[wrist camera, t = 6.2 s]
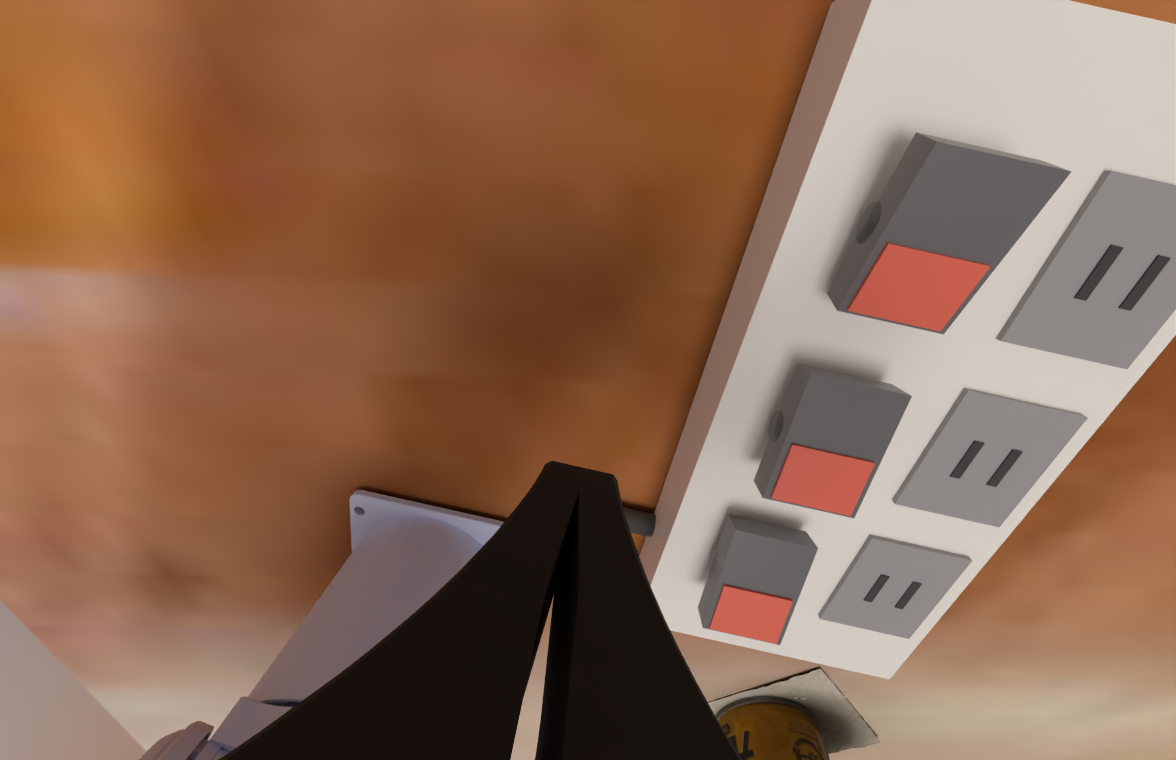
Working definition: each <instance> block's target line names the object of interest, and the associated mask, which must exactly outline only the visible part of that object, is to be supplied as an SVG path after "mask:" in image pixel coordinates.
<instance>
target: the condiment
mask: <svg viewBox="0 0 1176 760" xmlns="http://www.w3.org/2000/svg"><path fill="white" fill-rule="evenodd" d="M793 697H798V699H793ZM800 698H806V699H807V700H802V699H800ZM708 704H709V706H710V708H711V709H712V711H713V713H714V715H715V716H716V718H717V720H718V722H719V724H720V725H721V727H722V729H723V730H724V732H725V734H726V735H727V737H728V738H729V740H730V742H731V743H732V745H733V746H734V748H735V750H736V751H737V753H738V754H739V756H740V758H741V759H742V760H830V759H829V756H828V754H830V753H835V752H839V751H841V750H845V749H850V748H861V747H866V746H868V745H872V744H876V743H880V741H879V740H878V738H877V737H876V736H875V735H874V734H873V732H872V730H871V729H870V728H869V727H868V725H867V724H866V723H865V721H864V720H863V719H862V718H861V717H860V715H859V714H858V713H857V711H856V710H855V709H854V708H853V707H852V705H851V704H850V703H849V702H848V701H847V699H846V698H845V696H843V695H842V694H841V692H840V691H839V690H838V689H837V688H836V686H835V685H834V684H833V682H832V681H831V680H830V679H829V678H828V677H827V676H826V675H825V673H824V672H823V671H822V670H821V669H818V670H815V671H811V672H810V673H808V674H804V675H800V676H795V677H792V678H790V679H789V680H787V681H782V682H778V683H774V684H771V685H770V686H767V687H761V688H759V689H754V690H748V691H745V692H741V693H737V694H735V695H732V696H729V697H726V698H722V699H720V700H716V701H712V702H709V703H708Z"/></svg>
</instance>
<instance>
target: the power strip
mask: <svg viewBox="0 0 1176 760" xmlns="http://www.w3.org/2000/svg"><path fill="white" fill-rule="evenodd" d="M916 132H917V133H922V134H926V135H930V136H935V137H939V138H944V139H948V140H953V141H957V142H962V143H966V144H971V145H975V146H980V147H984V148H989V149H993V150H998V151H1002V152H1007V153H1011V154H1016V155H1020V156H1025V157H1029V158H1034V159H1038V160H1042V161H1044V162H1047V163H1050V164H1053V165H1055V166H1058V167H1061V168H1063V169H1066V170H1069V171H1072V172H1071V173H1070V174H1069V176H1068V177H1067V178H1066V179H1065V181H1064V182H1063V183H1062V185H1061V186H1060V187H1059V188H1058V190H1057V191H1056V192H1055V193H1054V195H1053V196H1052V197H1051V199H1050V200H1049V201H1048V202H1047V204H1046V205H1045V206H1044V207H1043V209H1042V210H1041V211H1040V213H1039V214H1038V215H1037V216H1036V218H1035V219H1034V220H1033V221H1032V223H1031V224H1030V225H1029V226H1028V228H1027V229H1026V230H1025V232H1024V233H1023V234H1022V235H1021V237H1020V238H1019V239H1018V240H1017V242H1016V243H1015V244H1014V246H1013V247H1012V248H1011V249H1010V251H1009V252H1008V253H1007V254H1006V256H1005V257H1004V258H1003V260H1002V261H1001V262H1000V263H999V265H998V266H997V267H996V268H995V270H994V271H993V272H992V274H991V275H990V276H989V277H988V279H987V280H986V281H985V282H984V284H983V285H982V286H981V288H980V289H979V290H978V291H977V293H976V294H975V295H974V296H973V298H972V299H971V300H970V302H969V303H968V304H967V305H966V307H965V308H964V309H963V310H962V312H961V313H960V314H959V316H958V317H957V318H956V319H955V321H954V322H953V323H952V324H951V326H950V327H949V328H948V329H947V331H946V332H945V333H944V334H939V333H935V332H930V331H926V330H921V329H917V328H912V327H908V326H903V325H899V324H894V323H890V322H885V321H881V320H877V319H872V318H868V317H863V316H859V315H854V314H850V313H845V312H841V311H837V310H836V308H835V306H834V305H833V303H832V301H831V299H830V298H829V296H828V294H827V291H828V289H829V288H830V286H831V284H832V282H833V280H834V279H835V277H836V275H837V273H838V271H839V270H840V268H841V266H842V264H843V262H844V261H845V259H846V257H847V255H848V254H849V252H850V250H851V248H852V246H853V245H854V243H855V241H856V239H855V232H856V227H857V224H858V222H859V219H860V217H861V215H862V214H863V212H864V211H865V209H866V208H867V207H868V206H869V205H870V204H871V203H873V202H875V201H878V200H879V198H880V196H881V194H882V193H883V191H884V189H885V187H886V185H887V184H888V182H889V180H890V178H891V176H892V175H893V173H894V171H895V169H896V167H897V166H898V164H899V162H900V160H901V158H902V157H903V155H904V153H905V151H906V150H907V148H908V146H909V144H910V142H911V141H912V139H913V137H914V135H915V133H916ZM1175 335H1176V24H1173V23H1168V22H1164V21H1159V20H1155V19H1150V18H1146V17H1141V16H1137V15H1132V14H1128V13H1123V12H1119V11H1114V10H1110V9H1105V8H1101V7H1096V6H1092V5H1087V4H1083V3H1078V2H1074V1H1069V0H836V1H834V2H833V3H832V4H831V5H830V8H829V11H828V14H827V17H826V19H825V22H824V25H823V28H822V31H821V34H820V37H819V40H818V42H817V45H816V48H815V51H814V54H813V57H812V60H811V63H810V65H809V68H808V71H807V74H806V77H805V80H804V83H803V86H802V89H801V91H800V94H799V97H798V100H797V103H796V106H795V109H794V112H793V114H792V117H791V120H790V123H789V126H788V129H787V132H786V135H785V137H784V140H783V143H782V146H781V149H780V152H779V155H778V158H777V161H776V163H775V166H774V169H773V172H772V175H771V178H770V181H769V184H768V186H767V189H766V192H765V195H764V198H763V201H762V204H761V207H760V210H759V212H758V215H757V218H756V221H755V224H754V227H753V230H752V233H751V235H750V238H749V241H748V244H747V247H746V250H745V253H744V256H743V258H742V261H741V264H740V267H739V270H738V273H737V276H736V279H735V282H734V284H733V287H732V290H731V293H730V296H729V299H728V302H727V305H726V307H725V310H724V313H723V316H722V319H721V322H720V325H719V328H718V330H717V333H716V336H715V339H714V342H713V345H712V348H711V351H710V354H709V356H708V359H707V362H706V365H705V368H704V371H703V374H702V377H701V379H700V382H699V385H698V388H697V391H696V394H695V397H694V400H693V402H692V405H691V408H690V411H689V414H688V417H687V420H686V423H685V426H684V428H683V431H682V434H681V437H680V440H679V443H678V446H677V449H676V451H675V454H674V457H673V460H672V463H671V466H670V469H669V472H668V474H667V477H666V480H665V483H664V486H663V489H662V492H661V495H660V498H659V500H658V503H657V506H656V509H655V512H654V514H653V513H648V512H644V511H639V510H635V509H630V508H626V507H623V509H624V513H625V516H626V519H627V522H628V526H629V529H630V532H632V533H636V534H640V535H645V536H646V538H645V541H644V544H643V547H642V549H641V552H640V555H639V558H640V560H641V563H642V566H643V568H644V571H645V574H646V576H647V579H648V581H649V584H650V586H651V589H652V591H653V593H654V596H655V598H656V600H657V602H658V605H659V607H660V609H661V612H662V614H663V616H664V618H665V621H666V623H667V625H668V627H669V629H670V630H671V631H676V632H680V633H685V634H689V635H693V636H698V637H702V638H707V639H711V640H716V641H720V642H725V643H729V644H734V645H738V646H743V647H747V648H752V649H756V650H760V651H765V652H769V653H774V654H778V655H783V656H787V657H792V658H796V659H801V660H805V661H810V662H814V663H818V664H823V665H827V666H832V667H836V668H841V669H845V670H850V671H854V672H859V673H863V674H868V675H872V676H877V677H881V678H885V679H890V678H891V677H892V676H893V674H894V673H895V672H896V671H897V670H898V668H899V667H900V666H901V665H902V664H903V662H904V661H905V660H906V659H907V658H908V656H909V655H910V654H911V653H912V652H913V650H914V649H915V648H916V647H917V646H918V644H919V643H920V642H921V641H922V640H923V638H924V637H925V636H926V635H927V634H928V632H929V631H930V630H931V629H932V628H933V626H934V625H935V624H936V623H937V621H938V620H939V619H940V618H941V617H942V615H943V614H944V613H945V612H946V611H947V609H948V608H949V607H950V606H951V605H952V603H953V602H954V601H955V600H956V599H957V597H958V596H959V595H960V594H961V593H962V591H963V590H964V589H965V588H966V587H967V585H968V584H969V583H970V582H971V581H972V579H973V578H974V577H975V576H976V575H977V573H978V572H979V571H980V570H981V569H982V567H983V566H984V565H985V564H986V562H987V561H988V560H989V559H990V558H991V556H992V555H993V554H994V553H995V552H996V550H997V549H998V548H999V547H1000V546H1001V544H1002V543H1003V542H1004V541H1005V540H1006V538H1007V537H1008V536H1009V535H1010V534H1011V532H1012V531H1013V530H1014V529H1015V528H1016V526H1017V525H1018V524H1019V523H1020V522H1021V520H1022V519H1023V518H1024V517H1025V516H1026V514H1027V513H1028V512H1029V511H1030V510H1031V508H1032V507H1033V506H1034V505H1035V503H1036V502H1037V501H1038V500H1039V499H1040V497H1041V496H1042V495H1043V494H1044V493H1045V491H1046V490H1047V489H1048V488H1049V487H1050V485H1051V484H1052V483H1053V482H1054V481H1055V479H1056V478H1057V477H1058V476H1059V475H1060V473H1061V472H1062V471H1063V470H1064V469H1065V467H1066V466H1067V465H1068V464H1069V463H1070V461H1071V460H1072V459H1073V458H1074V457H1075V455H1076V454H1077V453H1078V452H1079V450H1080V449H1081V448H1082V447H1083V446H1084V444H1085V443H1086V442H1087V441H1088V440H1089V438H1090V437H1091V436H1092V435H1093V434H1094V432H1095V431H1096V430H1097V429H1098V428H1099V426H1100V425H1101V424H1102V423H1103V422H1104V420H1105V419H1106V418H1107V417H1108V416H1109V414H1110V413H1111V412H1112V411H1113V410H1114V408H1115V407H1116V406H1117V405H1118V404H1119V402H1120V401H1121V400H1122V399H1123V398H1124V396H1125V395H1126V394H1127V393H1128V391H1129V390H1130V389H1131V388H1132V387H1133V385H1134V384H1135V383H1136V382H1137V381H1138V379H1139V378H1140V377H1141V376H1142V375H1143V373H1144V372H1145V371H1146V370H1147V369H1148V367H1149V366H1150V365H1151V364H1152V363H1153V361H1154V360H1155V359H1156V358H1157V357H1158V355H1159V354H1160V353H1161V352H1162V351H1163V349H1164V348H1165V347H1166V346H1167V345H1168V343H1169V342H1170V341H1171V340H1172V339H1173V337H1174V336H1175ZM798 363H799V364H804V365H808V366H813V367H817V368H822V369H826V370H831V371H835V372H840V373H844V374H849V375H853V376H858V377H862V378H867V379H871V380H875V381H880V382H884V383H889V384H892V385H894V386H896V387H898V388H899V389H901V390H903V391H904V392H906V393H908V394H910V395H911V396H912V397H911V399H910V402H909V404H908V406H907V408H906V410H905V412H904V414H903V416H902V419H901V421H900V423H899V425H898V427H897V429H896V431H895V433H894V435H893V438H892V440H891V442H890V444H889V446H888V448H887V450H886V452H885V455H884V457H883V459H882V461H881V463H880V465H879V467H878V469H877V471H876V474H875V476H874V478H873V480H872V482H871V484H870V486H869V488H868V490H867V493H866V495H865V497H864V499H863V501H862V503H861V505H860V507H859V510H858V512H857V514H856V516H855V518H850V517H845V516H841V515H836V514H832V513H828V512H823V511H819V510H814V509H810V508H805V507H801V506H796V505H792V504H787V503H783V502H778V501H774V500H769V499H765V498H762V496H761V494H760V492H759V490H758V488H757V486H756V484H755V482H754V478H755V476H756V473H757V470H758V468H759V465H760V462H761V460H762V457H763V454H764V452H765V449H766V446H767V444H768V441H769V435H768V429H769V423H770V420H771V417H772V415H773V414H774V412H775V411H777V410H780V409H781V406H782V404H783V401H784V398H785V396H786V393H787V390H788V388H789V385H790V382H791V380H792V377H793V375H794V372H795V369H796V367H797V364H798ZM728 514H731V515H735V516H740V517H744V518H748V519H753V520H757V521H762V522H766V523H771V524H775V525H780V526H784V527H789V528H793V529H798V530H802V531H806V532H807V533H808V535H809V536H810V538H811V539H812V540H813V542H814V543H815V545H816V546H817V547H818V550H817V553H816V555H815V558H814V560H813V563H812V565H811V568H810V570H809V573H808V576H807V578H806V581H805V583H804V586H803V588H802V591H801V593H800V596H799V598H798V601H797V604H796V606H795V609H794V611H793V614H792V616H791V619H790V621H789V624H788V626H787V629H786V632H785V634H784V637H783V639H782V642H781V644H780V645H777V644H773V643H768V642H764V641H759V640H755V639H750V638H746V637H741V636H737V635H732V634H728V633H723V632H719V631H714V630H710V629H706V628H703V627H702V623H701V619H700V615H699V611H698V605H699V602H700V599H701V596H702V593H703V590H704V587H705V584H706V581H707V578H708V575H709V570H708V566H709V559H710V555H711V553H712V551H713V550H714V549H715V550H717V547H718V544H719V541H720V538H721V535H722V532H723V529H724V526H725V523H726V520H727V517H728Z"/></svg>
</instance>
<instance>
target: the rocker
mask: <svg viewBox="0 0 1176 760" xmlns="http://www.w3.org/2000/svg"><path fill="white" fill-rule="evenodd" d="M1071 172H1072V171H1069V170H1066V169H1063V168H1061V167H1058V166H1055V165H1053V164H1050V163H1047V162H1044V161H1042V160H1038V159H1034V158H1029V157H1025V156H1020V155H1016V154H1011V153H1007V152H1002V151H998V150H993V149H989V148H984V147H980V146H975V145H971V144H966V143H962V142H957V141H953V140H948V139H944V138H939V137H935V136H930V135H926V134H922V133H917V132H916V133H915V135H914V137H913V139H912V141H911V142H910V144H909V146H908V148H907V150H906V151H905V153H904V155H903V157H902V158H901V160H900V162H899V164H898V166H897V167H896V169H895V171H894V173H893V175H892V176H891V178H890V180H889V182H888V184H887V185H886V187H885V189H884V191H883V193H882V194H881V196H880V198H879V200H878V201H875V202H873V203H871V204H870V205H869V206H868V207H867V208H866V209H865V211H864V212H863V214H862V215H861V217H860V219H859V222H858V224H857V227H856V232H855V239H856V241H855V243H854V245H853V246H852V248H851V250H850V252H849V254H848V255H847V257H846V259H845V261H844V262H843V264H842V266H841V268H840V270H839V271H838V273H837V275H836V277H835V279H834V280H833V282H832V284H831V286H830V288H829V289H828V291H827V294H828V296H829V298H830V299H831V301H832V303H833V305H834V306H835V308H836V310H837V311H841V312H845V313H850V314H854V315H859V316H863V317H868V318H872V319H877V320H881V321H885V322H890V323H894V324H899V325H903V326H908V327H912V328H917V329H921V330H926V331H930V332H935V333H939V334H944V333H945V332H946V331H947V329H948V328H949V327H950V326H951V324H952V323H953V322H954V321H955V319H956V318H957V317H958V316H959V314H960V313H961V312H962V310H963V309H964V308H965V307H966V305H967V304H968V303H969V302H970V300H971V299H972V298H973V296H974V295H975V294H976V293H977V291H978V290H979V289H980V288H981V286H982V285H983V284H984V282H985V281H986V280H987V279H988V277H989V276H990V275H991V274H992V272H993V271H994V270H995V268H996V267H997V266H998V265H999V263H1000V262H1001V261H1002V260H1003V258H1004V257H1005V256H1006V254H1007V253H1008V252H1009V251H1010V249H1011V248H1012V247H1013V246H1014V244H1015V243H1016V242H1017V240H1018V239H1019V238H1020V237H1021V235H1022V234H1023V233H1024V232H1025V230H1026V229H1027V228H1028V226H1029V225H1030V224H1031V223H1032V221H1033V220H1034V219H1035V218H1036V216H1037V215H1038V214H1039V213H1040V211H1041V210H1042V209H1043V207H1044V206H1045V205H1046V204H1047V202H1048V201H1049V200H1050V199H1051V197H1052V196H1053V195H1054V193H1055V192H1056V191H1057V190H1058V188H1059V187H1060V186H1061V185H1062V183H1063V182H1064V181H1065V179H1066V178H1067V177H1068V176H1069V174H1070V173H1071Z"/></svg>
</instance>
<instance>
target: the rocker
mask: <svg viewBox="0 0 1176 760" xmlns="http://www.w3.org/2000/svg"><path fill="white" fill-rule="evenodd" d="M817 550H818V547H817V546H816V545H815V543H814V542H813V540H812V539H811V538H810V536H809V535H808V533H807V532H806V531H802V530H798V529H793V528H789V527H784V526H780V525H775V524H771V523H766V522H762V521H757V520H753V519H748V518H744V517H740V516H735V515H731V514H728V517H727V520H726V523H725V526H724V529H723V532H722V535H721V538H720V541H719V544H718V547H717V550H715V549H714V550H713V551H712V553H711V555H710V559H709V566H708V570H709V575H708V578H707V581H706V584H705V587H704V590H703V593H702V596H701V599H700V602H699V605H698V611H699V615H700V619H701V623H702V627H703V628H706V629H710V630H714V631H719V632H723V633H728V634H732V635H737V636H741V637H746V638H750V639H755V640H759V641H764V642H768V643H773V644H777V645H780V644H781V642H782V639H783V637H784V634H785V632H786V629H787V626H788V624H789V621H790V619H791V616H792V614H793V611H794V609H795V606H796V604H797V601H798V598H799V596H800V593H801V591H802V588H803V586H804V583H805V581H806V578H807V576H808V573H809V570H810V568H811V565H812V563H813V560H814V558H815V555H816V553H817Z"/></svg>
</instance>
